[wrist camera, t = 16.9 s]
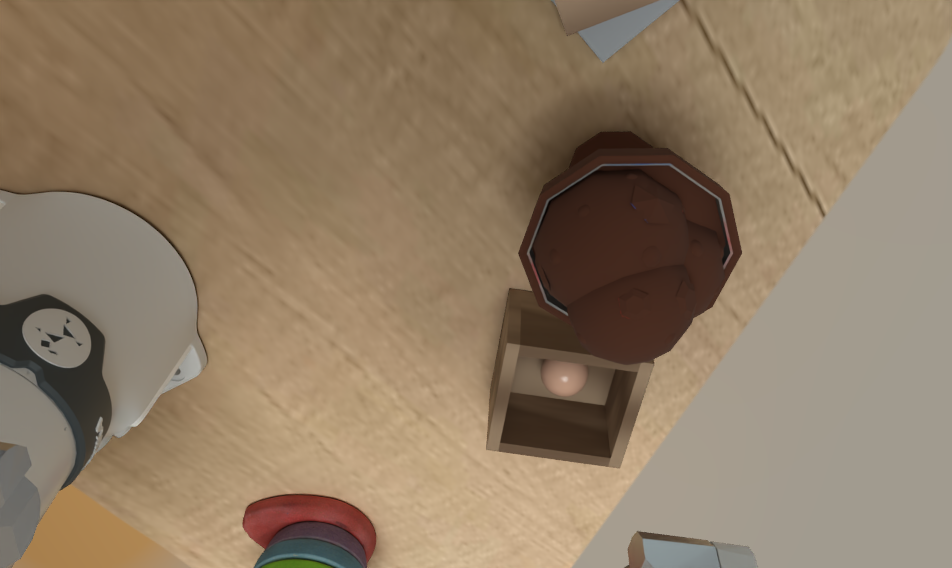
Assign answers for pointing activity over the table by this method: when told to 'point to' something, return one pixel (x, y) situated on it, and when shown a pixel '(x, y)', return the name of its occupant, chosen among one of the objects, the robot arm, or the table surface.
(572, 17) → the lid
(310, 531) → the stacking bear
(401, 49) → the table surface
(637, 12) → the felt pad
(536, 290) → the ice cream bowl
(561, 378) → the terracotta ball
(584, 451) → the walnut box
